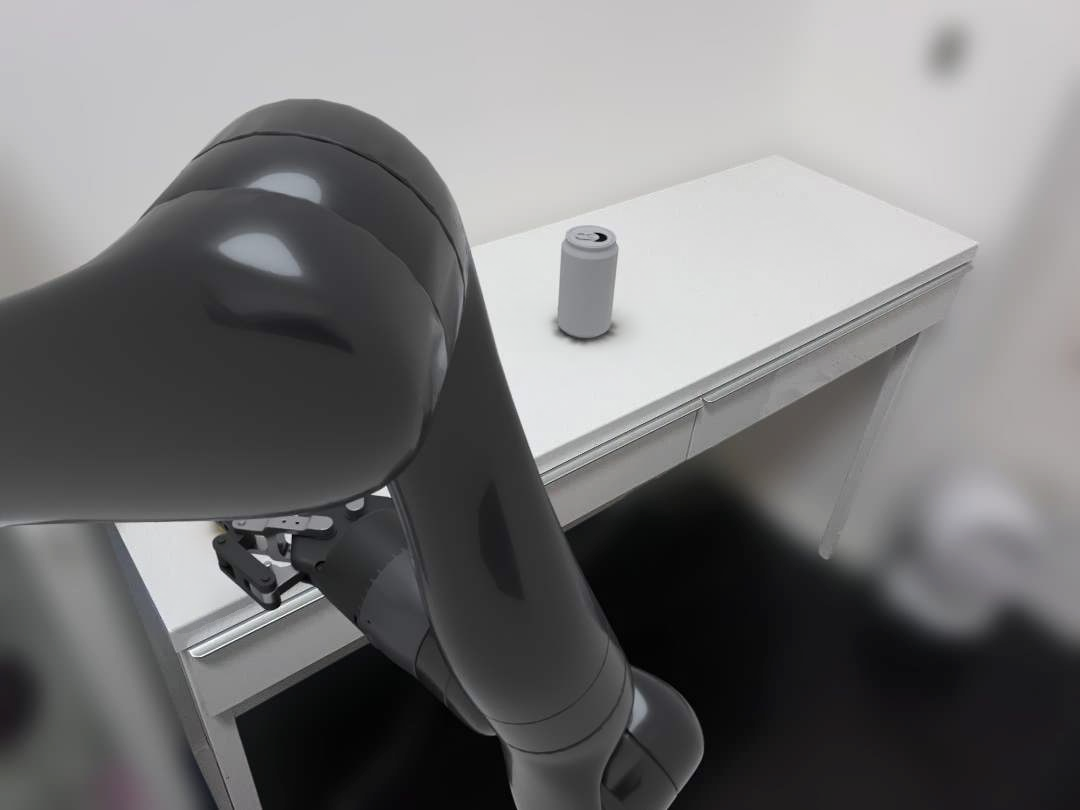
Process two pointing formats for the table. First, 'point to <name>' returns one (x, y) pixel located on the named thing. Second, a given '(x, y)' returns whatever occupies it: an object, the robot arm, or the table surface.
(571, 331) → the beverage can
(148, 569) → the table surface
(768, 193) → the table surface
